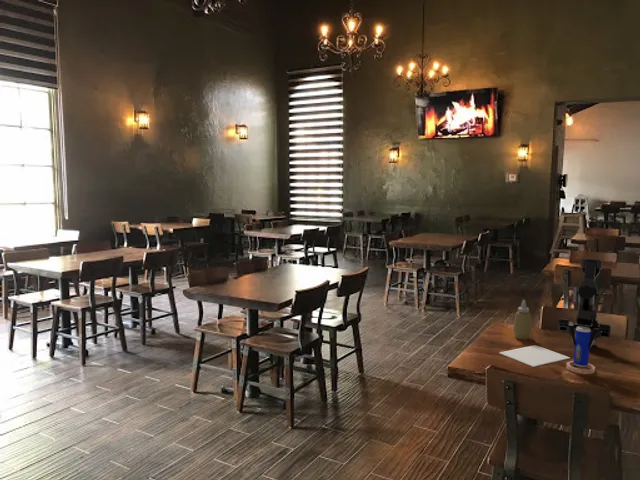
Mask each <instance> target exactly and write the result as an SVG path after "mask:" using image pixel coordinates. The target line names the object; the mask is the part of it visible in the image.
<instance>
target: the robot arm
mask: <svg viewBox="0 0 640 480" xmlns="http://www.w3.org/2000/svg"><path fill="white" fill-rule="evenodd" d="M580 260H581V262H580V269H582V273H583V280H582V281H581V282H579V287H577V289H576V296H577V297H578V301H577V302H578V307H577V314H576V317H575V318H576V319H575V322H573V321H570V319H568V318H558V320H557V321H558V322H557V329H558V330H559V331H560V332H566V333H567V334H569V335H570V338H571V341H572V345H573V346H574V347H575V336H576V328H577V327H578V326H583V327H588V328H590V331H591V332H590V343H589V349H591V348H592V347H594V346H595V347H596V346H597V343H595V342H596V341H597V339H598V338H600V339H601V338H602V337H605V338H610V337H611V332H612V331H611V328H612V327H611V324H609V323H607V324H606V323H599V321H598V320H597V318H598V316H597V315H598V310H595V300H596V299H598V297H600V291H599V289H598V288H597V282H596V278H597V277H598V276H599V275H600V273H601V270H602V268H603V260H600V258H594V257H593V258H592V257H584V259H580Z"/></svg>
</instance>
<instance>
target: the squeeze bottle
mask: <svg viewBox="0 0 640 480" xmlns="http://www.w3.org/2000/svg"><path fill="white" fill-rule="evenodd" d="M526 302H527V301H526V300H525V299H523V300H522V302H521V305H520V306H519V307H518V308H517V311H516V312H515V315H514V323H513V328H512V330H513V333H514V337H515V338H516V339H519V340H528V339H530V337H531V336H530V335H532V334H531V333H532V315H531V313H530V312H529V311H530V308H529V307H527V303H526Z"/></svg>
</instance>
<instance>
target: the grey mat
mask: <svg viewBox="0 0 640 480" xmlns="http://www.w3.org/2000/svg"><path fill="white" fill-rule="evenodd" d="M498 354H500V355H501V356H505V357H507V358H509V359H512V360H514V361H517V362H520V363H522V364H523V365H524V364H525V365H527V366H530V367H532V368H535V367H539V366H544V365H548V364H553V363H556V362H557V363H558V362H561V361H565V360H569V359H571V357H569V356H566V355H564V354H562V353H558V352H557V351H556V352H555V351H552V350H550V349H547V348H544V347H542V346H539V345H536V344H534V345H529V346H524V347H520V348H519V347H518V348H516V349H509V350H506V351H499V353H498Z"/></svg>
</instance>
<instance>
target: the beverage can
mask: <svg viewBox="0 0 640 480" xmlns="http://www.w3.org/2000/svg"><path fill="white" fill-rule="evenodd" d="M590 332H591V331H590V328H588V327H583V326H578V327H577V328H575V346H574V354H573V361H574V364H575V365H574V366H576V365H577V366H576V367H583V368H584V367H585V368H587V367H586V366H587V365H588V363H589V356H590V348H589V343H590Z"/></svg>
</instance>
